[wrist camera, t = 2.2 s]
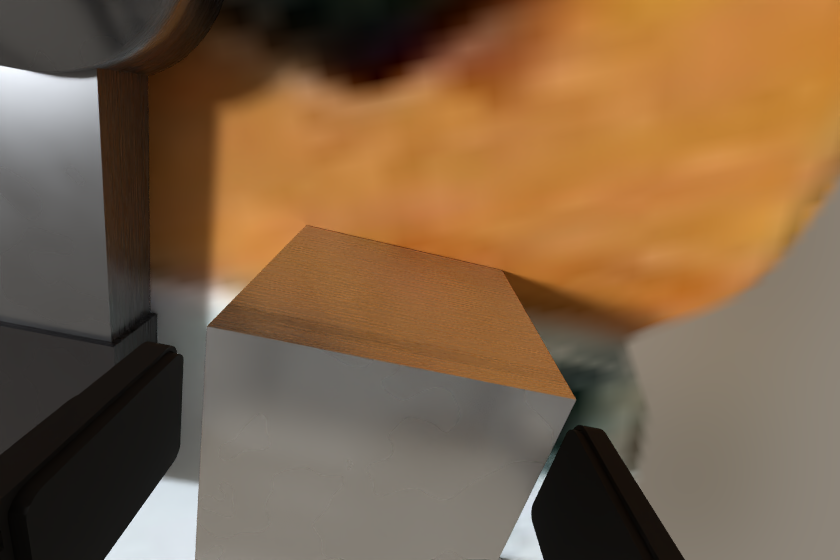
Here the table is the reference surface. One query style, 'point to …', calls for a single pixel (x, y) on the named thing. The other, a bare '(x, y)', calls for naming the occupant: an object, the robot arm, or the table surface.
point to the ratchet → (77, 190)
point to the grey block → (372, 408)
